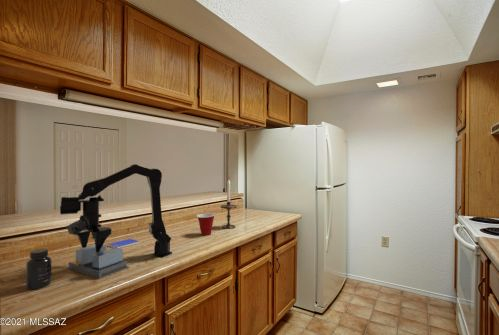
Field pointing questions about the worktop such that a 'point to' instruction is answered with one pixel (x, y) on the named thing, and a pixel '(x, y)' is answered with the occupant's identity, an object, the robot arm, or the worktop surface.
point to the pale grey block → (87, 254)
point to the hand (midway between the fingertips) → (90, 250)
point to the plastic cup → (206, 223)
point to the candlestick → (228, 208)
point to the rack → (102, 264)
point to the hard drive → (123, 243)
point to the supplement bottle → (38, 269)
